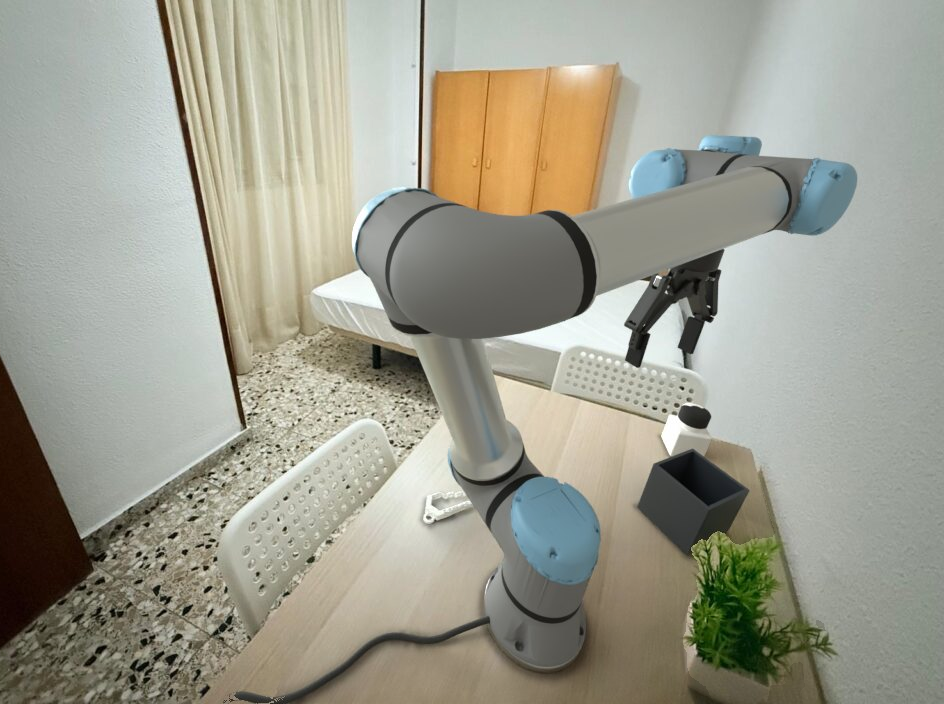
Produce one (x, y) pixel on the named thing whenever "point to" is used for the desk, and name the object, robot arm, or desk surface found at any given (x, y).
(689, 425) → the medicine bottle
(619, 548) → the desk surface
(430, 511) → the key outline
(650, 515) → the dark grey cube box
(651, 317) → the robot arm
